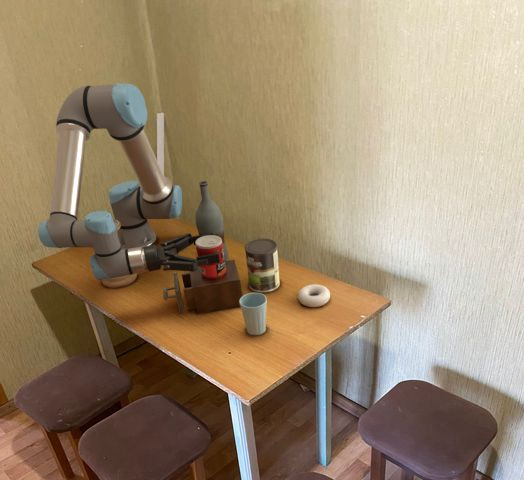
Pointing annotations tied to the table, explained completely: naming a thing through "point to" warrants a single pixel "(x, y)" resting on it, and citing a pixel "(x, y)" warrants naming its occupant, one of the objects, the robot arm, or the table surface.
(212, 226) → the bottle
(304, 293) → the donut
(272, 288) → the coffee can
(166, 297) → the drawer
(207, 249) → the canned food
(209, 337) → the table surface
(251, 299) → the cup
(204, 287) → the cabinet
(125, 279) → the candle holder
